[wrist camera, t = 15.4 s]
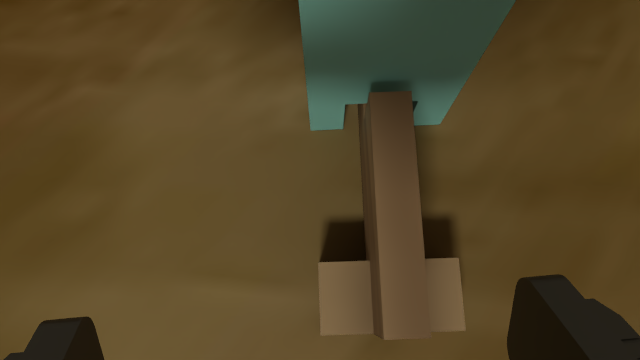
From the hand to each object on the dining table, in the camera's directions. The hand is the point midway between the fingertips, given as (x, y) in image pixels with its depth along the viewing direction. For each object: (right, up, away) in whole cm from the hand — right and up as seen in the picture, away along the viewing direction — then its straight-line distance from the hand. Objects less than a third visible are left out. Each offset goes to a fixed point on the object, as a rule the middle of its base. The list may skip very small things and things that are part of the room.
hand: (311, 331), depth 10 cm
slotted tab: (+3, +7, +16) cm, 18 cm away
